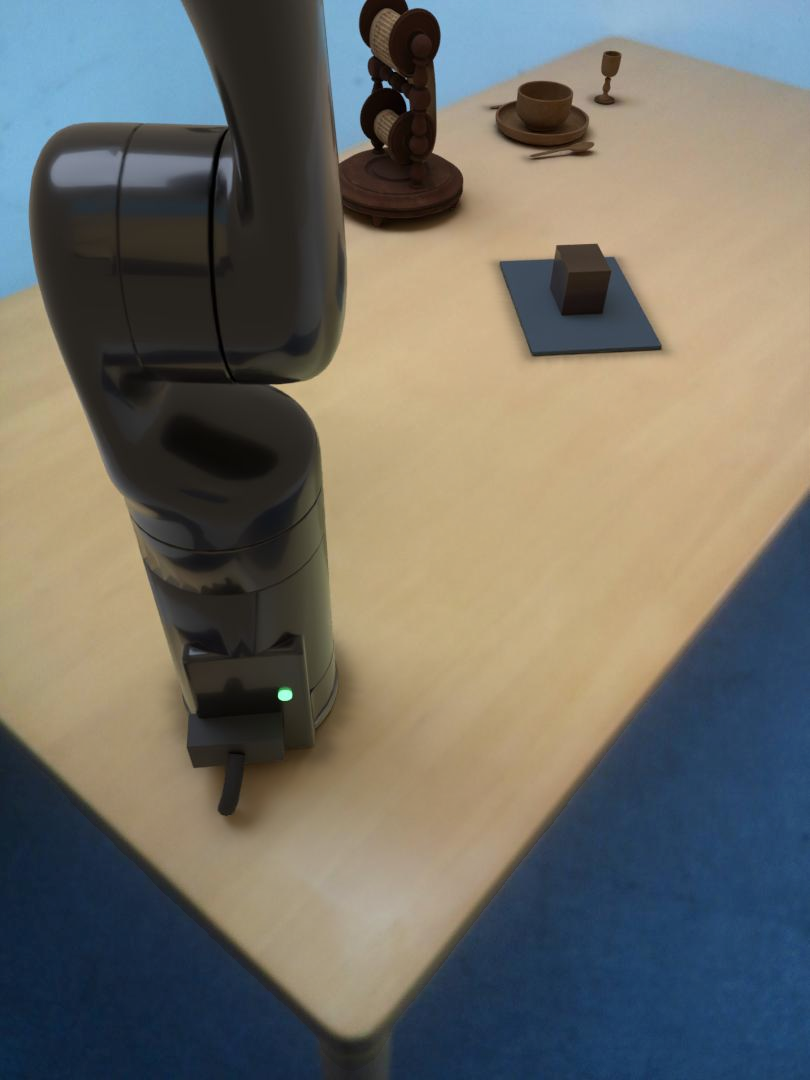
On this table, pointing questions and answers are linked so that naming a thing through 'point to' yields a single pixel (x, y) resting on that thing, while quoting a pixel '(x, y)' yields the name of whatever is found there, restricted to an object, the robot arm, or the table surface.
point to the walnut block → (580, 279)
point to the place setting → (552, 111)
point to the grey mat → (576, 333)
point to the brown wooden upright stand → (400, 120)
